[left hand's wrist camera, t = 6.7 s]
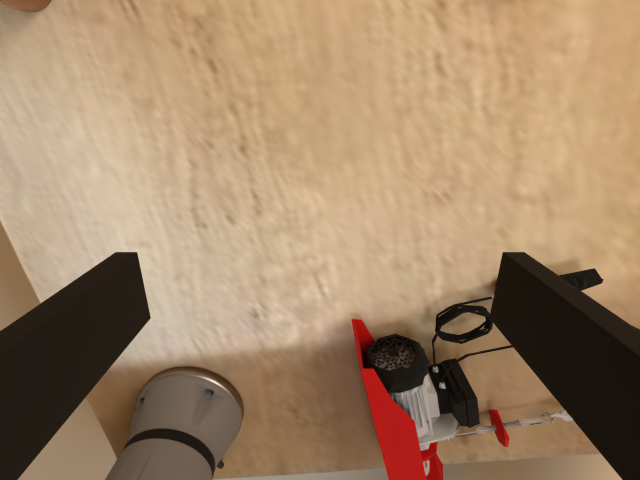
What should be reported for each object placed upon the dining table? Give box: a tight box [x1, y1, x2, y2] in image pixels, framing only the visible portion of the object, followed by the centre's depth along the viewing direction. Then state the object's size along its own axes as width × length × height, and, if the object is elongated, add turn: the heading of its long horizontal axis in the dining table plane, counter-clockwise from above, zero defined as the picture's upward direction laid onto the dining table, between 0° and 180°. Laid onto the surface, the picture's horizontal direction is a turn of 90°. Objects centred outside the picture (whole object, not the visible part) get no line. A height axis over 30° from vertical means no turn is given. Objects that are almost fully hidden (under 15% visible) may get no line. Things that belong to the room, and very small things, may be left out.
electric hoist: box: [352, 269, 604, 480], centre depth 44 cm, size 10×27×30 cm
